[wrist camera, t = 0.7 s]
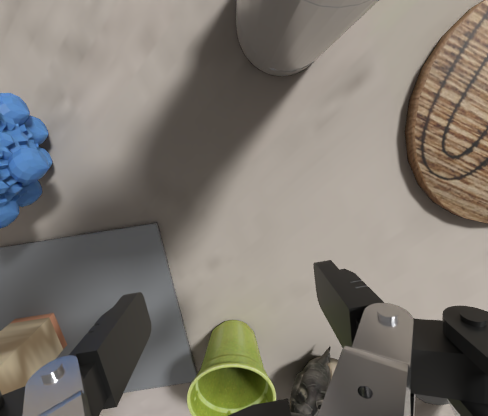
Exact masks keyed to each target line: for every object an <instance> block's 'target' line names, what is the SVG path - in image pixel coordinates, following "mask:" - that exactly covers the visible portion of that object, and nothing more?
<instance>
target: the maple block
mask: <svg viewBox="0 0 488 416" xmlns="http://www.w3.org/2000/svg"><path fill="white" fill-rule="evenodd" d="M66 346H67V343H66V341H65V338H64V336H63V334H62V331H61V329H60V327H59V324H58V322H57V320H56V317H55V315H54V313H50V314H44V315H38V316H31V317H25V318H19V319H14V320H13V321H12V322H11V323H10V324H8V325H7V326H6V327H5V328H4V329H2V330H1V331H0V391H1V393H2V395H4V394H6V393H9V392H11V391H14V390H17V389H19V388H22V387H24V386H26V383H27V381H28V380H29V378H30V377H31V376H32V375H33V374H34V373H35V372H36V371H37V370H39V369H40V368H41V367H43V366H44V365H46V364H47V363H49V362H51V361H53V360H55V359H56V358H57V357H58V355H59V354H60V353H61V352H62V350H63V349H64V348H65V347H66Z"/></svg>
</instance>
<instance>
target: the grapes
mask: <svg viewBox="0 0 488 416" xmlns="http://www.w3.org/2000/svg"><path fill="white" fill-rule="evenodd" d="M29 115H30V113H29V109H28V107H27V105H26V103H25V102H24V101H23V100H22V99H21V98H20V97H18V96H16V95H14V94H11V93H0V228H3V227H6V226H8V225H9V224H10V223H12V222H13V221H14V220H15V219H16V218H17V216H18V215H19V206H21V207H24V206H27V205H31V204H32V203H33V202H35V201H36V200H37V199H38V198H39V197H40V196H41V194H42V187H41V185H40V182H39V181H38V180H39V179H40V178H42V177H43V176H44V175H45V174H46V172H47V171H48V169H49V168H50V167H51V165H52V159H51V156H50V154H49V153H48V152H47V151H46V150H45V149H44V148H41V147H39V146H38V145H40V144H42V143H43V142H44V141H45V140H46V138H47V137H48V130H47V128H46V126H45V124H44V123H43V122H42V121H41V120H40V119H38V118H36V117H33V116H29Z"/></svg>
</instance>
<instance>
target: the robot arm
mask: <svg viewBox="0 0 488 416" xmlns="http://www.w3.org/2000/svg"><path fill="white" fill-rule="evenodd" d="M378 1H379V0H237V6H236V28H237V36H238V39H239V43H240V46H241V48H242V50H243V52H244V53H245V55H246V57H247V58H248V59H249V60H250V62H251V63H252V64H253V65H254V66H256V67H257V68H258V69H260V70H261V71H263V72H266V73H268V74H271V75H276V76H289V75H292V74H296V73H298V72H300V71H302V70H304V69H306V68H307V67H308V66H309V65H310V64H312V63H313V62H314V61H315V60H316V59H317V58H318V57H319V56H320V55H321V54H322V53H324V52H325V51H326V50H327V49H328V48H329V47H330V46H331V45H332V44H333V43H334V42H335V41H336V40H337V39H338V38H340V37H341V36H342V35H343V34H344V33H345V32H346V31H347V30H348V29H349V28H350V27H351V26H352V25H353V24H354V23H355V22H356V21H358V20H359V19H360V18H361V17H362V16H363V15H364V14H365V13H366V12H367V11H368V10H369V9H370V8H371V7H372V6H373V5H374V4H376V3H377V2H378ZM314 275H315V283H316V292H317V298H318V302H319V305H320V307H321V309H322V311H323V313H324V315H325V316H326V318H327V320H328V322H329V324H330V325H331V327H332V329H333V331H334V333H335V334H336V336H337V338H338V340H339V342H340V344H341V345H342V347H343V350H342V352H341V355H340V357H339V360H338V363H337V365H336V368H335V371H334V373H333V376H332V379H331V381H330V384H329V387H328V389H327V392H326V395H325V397H324V400H323V403H322V405H321V408H320V410H319V413H318V416H414V414H415V394H418V395H425V396H432V397H439V398H447V399H448V400H449V402H450V403H451V404H452V405H453V407H454V408H455V409H456V411H457V412H458V413H459V414H460V416H488V312H487V311H484V310H481V309H478V308H474V307H468V306H452V307H449V308H446V309H445V310H444V311H443V321H440V320H421V319H414V318H413V317H412V315H411V314H410V313H409V312H408V311H406V310H405V309H403V308H401V307H399V306H397V305H393V304H388V303H384V302H383V301H382V300H381V299H380V298H379V297H378V296H377V295H376V294H375V293H374V292H373V291H372V290H371V289H370V288H369V287H367V285H366V284H365V283H364V282H363V281H361V279H360V278H359V277H358V276H357V275H356V274H355V273H353V272H351V271H349V270H346V269H341V270H339V269H338V268H337V267H336V265H335V264H334V263H333V262H332V261H331V260H328V261H322V262H316V263H314ZM150 335H151V320H150V317H149V313H148V310H147V306H146V302H145V299H144V296H143V294H142V293H141V292H138V293H132V294H126V295H123V296H122V297H121V298H120V299H119V300H118V302H117V303H116V304H115V305H114V307H113V308H111V309H110V310H108V311H107V312H106V313H104V314H103V315H102V316H101V317H100V318H99V319H98V320H97V322H96V323H95V324H94V326H92V328H91V329H90V330H89V331H88V333H87V334H86V335H85V336H84V337H83V338H82V340H81V341H80V342H79V343H78V344H77V346H76V347H75V348H74V349H73V350H72V352H71V353H70V354H69V355H67V356H63V357H60V358H57V359H55V360H53V361H51V362H49V363H47V364H46V365H44V366H43V367H41V368H40V369H39V370H37V371H36V372H35V373H34V374H33V375H32V376H31V377H30V378H29V380H28V381H27V383H26V386H24V387H22V388H19V389H17V390H14V391H11V392H9V393H6V394H4V395H2V393H1V391H0V416H99V414H100V412H101V410H102V409H108V408H114V407H117V405H118V403H119V401H120V399H121V397H122V395H123V393H124V390H125V388H126V386H127V384H128V382H129V380H130V378H131V376H132V373H133V371H134V369H135V367H136V365H137V363H138V361H139V359H140V356H141V354H142V352H143V350H144V348H145V346H146V344H147V342H148V340H149V337H150ZM228 416H307V415H303V414H299V413H292V412H290V407H289V402H288V399H284V400H278V401H272V402H266V403H260V404H254V405H251V406H249V407H246V408H244V409H242V410H239V411H237V412H235V413H233V414H230V415H228Z"/></svg>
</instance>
